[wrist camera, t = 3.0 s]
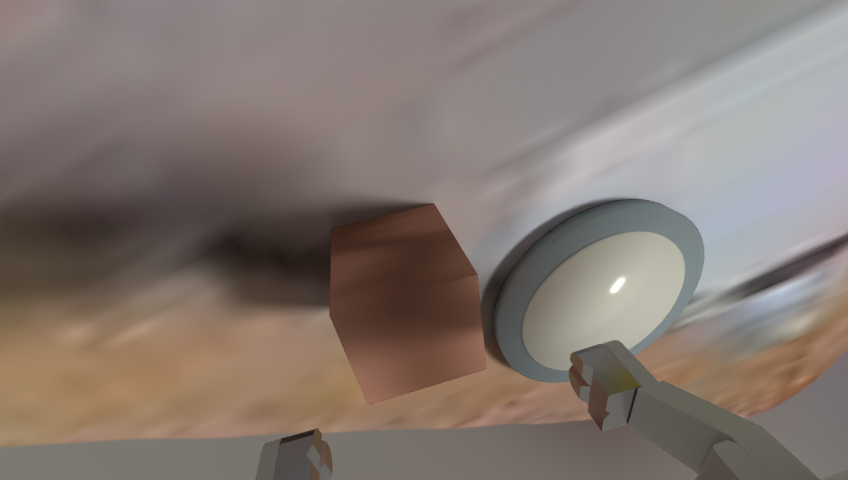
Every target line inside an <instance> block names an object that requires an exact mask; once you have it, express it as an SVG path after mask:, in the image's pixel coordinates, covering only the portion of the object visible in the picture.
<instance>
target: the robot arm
mask: <svg viewBox="0 0 848 480" xmlns="http://www.w3.org/2000/svg"><path fill="white" fill-rule="evenodd" d="M570 361H571V363H572V364H573V365H572V366H571V367H570V368H569V379H570V382H571V385H572V387H573V389H574V391H575V393H576V394H577V396H578V397H579V399H581V400H583V401H585V402H586V403H588V412H589V414H590V415H591V417H592V418H593V420H594V421H595V423H596V424H597V426H598V427H599V428H600V430H601V432H603V431H606V430H610V429H613V428H617V427H620V426H623V425H627V424H628V426H629V427H630V428H632V429H633V430H634V431H636V432H637V433H639V434H641V435H642V436H643V437H645V438H646V439H648V440H649V441H651V442H652V443H654V444H655V445H657V446H658V447H659V448H661V449H663V450H664V451H665V452H667V453H668V454H670V455H671V456H673V457H674V458H676V459H677V460H679V461H680V462H682V463H683V464H685V465H686V466H688V467H689V468H691V469H692V470H693V471H695V472H696V473H698V475H697V477H696V479H695V480H820V479H819V478H818V477H817V476H816V475H815V474H813V473H812V472H811V471H810V470H809V469H808V468H807V467H806V466H805V465H803V464H802V463H801V462H800V461H799V460H798V459H797V458H796V457H795V456H794V455H792V453H790V452H789V451H788V450H787V449H786V448H785V447H784V446H783V445H782V444H780V443H779V442H778V441H777V440H776V439H775V438H774V437H773V436H772V435H771V434H770V433H769V432H767V431H766V430H765V429H764V428H763V427H761V426H759V425H757V424H755V423H753V422H751V421H749V420H746V419H744V418H742V417H740V416H738V415H736V414H734V413H731V412H729V411H727V410H725V409H723V408H721V407H719V406H716V405H714V404H712V403H710V402H708V401H706V400H704V399H702V398H699V397H697V396H695V395H693V394H691V393H689V392H687V391H684V390H682V389H680V388H678V387H676V386H674V385H672V384H669V383H667V382H665V381H659V382H658V381H657V380H656V379H655V377H654V376H653V375H652V374H651V373H650V372H649V371H648V370H647V369H646V368H645V367H644V366H643V365H642V364H641V363H640V362H639V361H638V360H637V358H636V357H635V356H634V355H633V354H632V353H631V352H630V351H629V350H628V349H627V348H626V347H625V346H624V345H623V344H622V343H621V342H620V341H618V340H612V341H609V342H605V343H602V344H597V345H594V346H591V347H588V348H585V349H582V350H579V351H575V352H572V354H571V355H570ZM321 438H322V434H321V432H320V431H319V429H318V428H316V429H313V430H309V431H306V432H303V433H299V434H296V435H292V436H289V437H285V438H281V439H277V440H274V441H271V442H268V443H265V444H264V447H263V449H262V451H261V455H260V461H259V465H258V470H257V475H256V479H255V480H330V478H331V476H332V456H331V451H330V448H329V445H328V444H327V442H325V441H323V440H321ZM821 480H848V470H846V471H843V472H841V473H838V474H835V475H832V476H829V477H827V478H824V479H821Z"/></svg>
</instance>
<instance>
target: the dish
mask: <svg viewBox="0 0 848 480" xmlns="http://www.w3.org/2000/svg"><path fill="white" fill-rule="evenodd" d="M703 263H704V245H703V241H702V237H701V235H700V233H699V230H698V229H697V227H696V226H695V225H694V224H693V222H692V221H691V220H689V219H688V218H687V217H686V216H684V215H682V214H680V213H678V212H676V211H674V210H672V209H670V208H668V207H666V206H664V205H662V204H660V203H657V202H653V201H649V200H638V199H631V200H620V201H615V202H610V203H605V204H602V205H599V206H596V207H593V208H590V209H588V210H586V211H583V212H581V213H579V214H577V215H575V216H573V217H571V218H570V219H568V220H566V221H564V222H563V223H561V224H559V225H558V226H557V227H555V228H554V229H552V230H551V231H550V232H548V233H547V234H546V235H544V236H543V237H542V238H541V239H540V240H539V241H537V242H536V243H535V244H534V245H533V246H532V247H531V248H530V249H529V250H528V251H527V252H526V253H525V254H524V255H523V256H522V258H521V259H520V260H519V262H518V263H517V264H516V265H515V267H514V268H513V269H512V271H511V272H510V274H509V276H508V277H507V279H506V280H505V282H504V284H503V287H502V289H501V291H500V293H499V296H498V299H497V302H496V305H495V310H494V315H493V329H494V335H495V339H496V341H497V344H498V346H499V348H500V350H501V352H502V354H503V356H504V357H505V359H506V360H507V362H508V364H509V365H510V366H511V367H512V368H513V369H514V370H515V371H517V372H518V373H520V374H521V375H523V376H525V377H527V378H530V379H533V380H537V381H542V382H569V381H570V379H569V368H570V367H571V366H572V365H573V364H572V363H571V361H570V355H571V354H572V352H575V351H579V350H582V349H585V348H588V347H591V346H594V345H597V344H602V343H605V342H609V341H612V340H618V341H620V342H621V343H622V344H623V345H624V346H625V347H626V348H627V349H628V350H629V351H630V352H631V353H632V354H633V355H634V356H635V355H636V354H638V353H639V352H640V351H642V350H643V349H645V348H646V347H647V346H648V345H650V344H651V343H652V342H653V341H655V340H656V339H657V338H658V337H659V336H660V335H661V334H662V333H663V332H664V331H665V330H666V329H667V328H668V327H669V326H670V325H671V324H672V323H673V322H674V321H675V320H676V318H677V317H678V316H679V315H680V313H681V312H682V311H683V309H684V308H685V306H686V305H687V303H688V302H689V300H690V298H691V297H692V295H693V293H694V291H695V289H696V287H697V284H698V282H699V279H700V276H701V273H702V269H703Z"/></svg>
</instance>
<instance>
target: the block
mask: <svg viewBox="0 0 848 480" xmlns="http://www.w3.org/2000/svg"><path fill="white" fill-rule="evenodd" d="M329 315H330V318H331V320H332V322H333V325H334V327H335V329H336V332H337V334H338V336H339V339H340V341H341V343H342V346H343V348H344V351H345V353H346V355H347V358H348V360H349V362H350V365H351V367H352V369H353V372H354V374H355V376H356V379H357V381H358V383H359V386H360V388H361V390H362V393H363V395H364V397H365V400H366V402H367V404H368V405H371V404H375V403H378V402H381V401H384V400H388V399H391V398H394V397H397V396H401V395H404V394H407V393H410V392H414V391H417V390H420V389H423V388H427V387H430V386H433V385H436V384H440V383H443V382H446V381H449V380H453V379H456V378H459V377H462V376H466V375H469V374H472V373H475V372H479V371H482V370H485V369H487V368H486V357H485V347H484V337H483V326H482V316H481V305H480V295H479V285H478V275H477V273H476V271H475V270H474V268H473V266H472V265H471V263H470V261H469V260H468V258H467V257H466V255H465V253H464V252H463V250H462V248H461V247H460V245H459V243H458V242H457V240H456V239H455V237H454V235H453V234H452V232H451V230H450V229H449V227H448V225H447V224H446V222H445V221H444V219H443V217H442V216H441V214H440V212H439V211H438V209H437V207H436V206H435V204H430V205H426V206H422V207H418V208H414V209H410V210H406V211H402V212H398V213H394V214H390V215H386V216H382V217H378V218H374V219H370V220H366V221H361V222H357V223H353V224H349V225H345V226H341V227H337V228H333V229H332V231H331V272H330V314H329Z"/></svg>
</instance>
